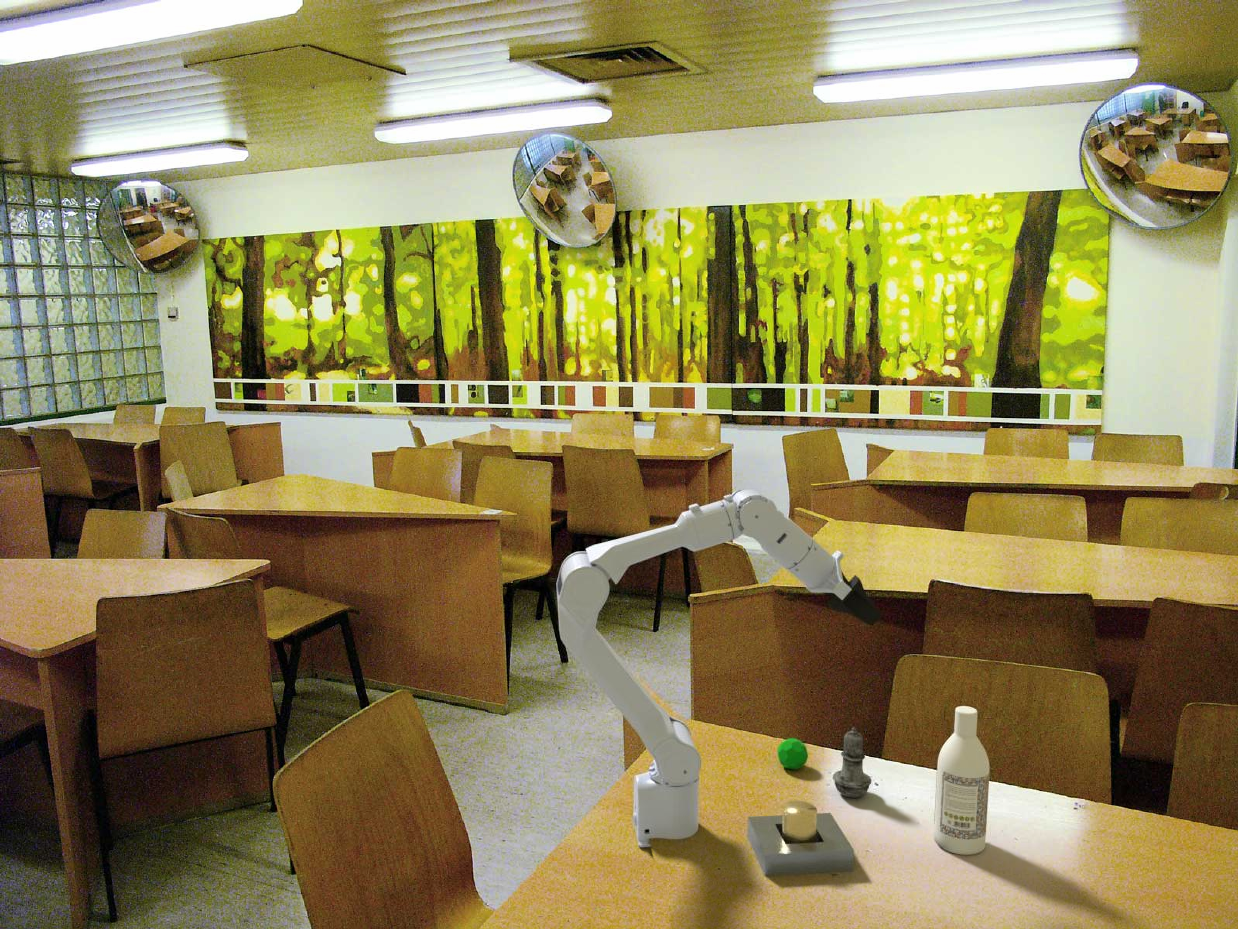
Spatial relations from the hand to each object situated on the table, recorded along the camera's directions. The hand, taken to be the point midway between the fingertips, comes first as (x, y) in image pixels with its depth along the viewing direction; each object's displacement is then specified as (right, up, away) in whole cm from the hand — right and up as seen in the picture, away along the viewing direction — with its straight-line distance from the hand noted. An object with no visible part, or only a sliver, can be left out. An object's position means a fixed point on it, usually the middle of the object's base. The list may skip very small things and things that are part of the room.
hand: (866, 612), depth 141 cm
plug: (-11, -32, -5) cm, 35 cm away
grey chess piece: (0, -31, +12) cm, 33 cm away
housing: (-11, -33, -5) cm, 35 cm away
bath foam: (+13, -33, -1) cm, 35 cm away
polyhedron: (-7, -29, +23) cm, 38 cm away
